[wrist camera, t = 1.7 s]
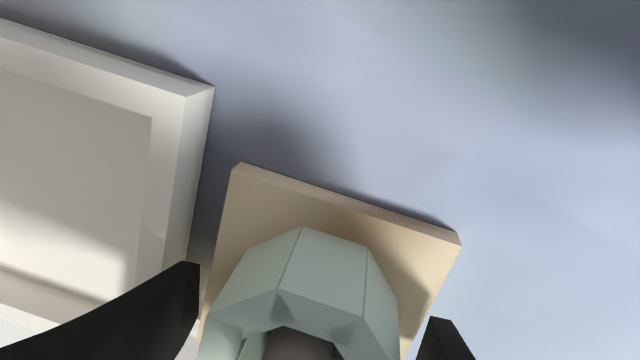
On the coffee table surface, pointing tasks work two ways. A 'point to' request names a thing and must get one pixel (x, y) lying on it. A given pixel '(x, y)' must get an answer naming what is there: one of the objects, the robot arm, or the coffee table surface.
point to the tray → (90, 174)
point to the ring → (304, 300)
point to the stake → (338, 220)
